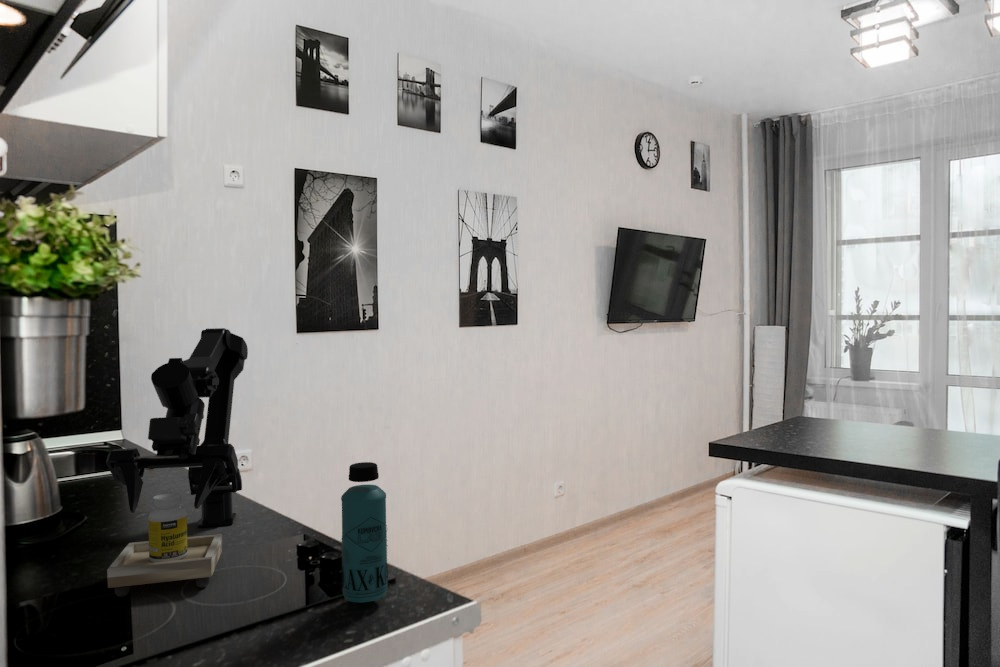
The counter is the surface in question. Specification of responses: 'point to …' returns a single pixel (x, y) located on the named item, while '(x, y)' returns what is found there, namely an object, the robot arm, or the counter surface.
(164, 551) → the supplement bottle
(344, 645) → the counter surface
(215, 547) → the shallow square tray
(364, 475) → the beverage bottle
